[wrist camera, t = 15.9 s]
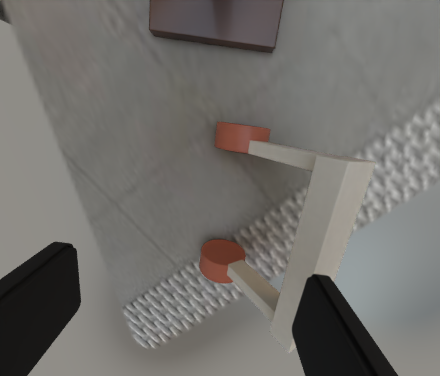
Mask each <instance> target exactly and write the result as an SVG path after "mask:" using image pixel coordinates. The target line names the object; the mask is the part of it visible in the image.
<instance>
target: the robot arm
mask: <svg viewBox="0 0 440 376" xmlns="http://www.w3.org/2000/svg"><path fill="white" fill-rule="evenodd" d="M80 303H81V296H80V284H79V272H78V260H77V251H76V249H75V248H73V245H72V244H69V243H62V242H53V243H51V244H50V245H48V246H47V247H46V248H44V249H43V250H41V251H40V252H38V253H37V254H36V255H34V256H33V257H31V258H30V259H29V260H27V261H26V262H24V263H23V264H21V266H19V267H17V268H16V269H14V270H13V271H12V272H10V273H9V274H7V275H6V276H4V277H3V278H2V279H1V280H0V376H27V375H28V374H29V373H30V371H31V370H32V369H33V367H34V366H35V365H36V364H37V362H38V361H39V360H40V359H41V357H42V356H43V354H44V353H45V352H46V351H47V349H48V348H49V347H50V346H51V344H52V343H53V342H54V340H55V339H56V338H57V337H58V335H59V334H60V333H61V331H62V330H63V329H64V327H65V326H66V325H67V323H68V322H69V321H70V320H71V318H72V317H73V316H74V315H75V313H76V312H77V310H78V308H79V306H80ZM292 335H293V339H294V342H295V345H296V348H297V351H298V354H299V357H300V360H301V363H302V367H303V370H304V373H305V376H398V375H397V373H396V372H395V371H394V369H393V368H392V366H391V365H390V363H389V362H388V360H387V359H386V358H385V356H384V354H383V353H382V352H381V350H380V349H379V347H378V346H377V344H376V343H375V341H374V340H373V339H372V337H371V336H370V334H369V333H368V331H367V330H366V329H365V327H364V326H363V324H362V323H361V321H360V320H359V318H358V317H357V315H356V314H355V312H354V311H353V310H352V308H351V307H350V305H349V304H348V302H347V301H346V299H345V298H344V297H343V295H342V294H341V292H340V291H339V289H338V288H337V286H336V285H335V284H334V282H333V281H332V279H331V278H330V277H329V276H328V275H320V274H313V275H312V276H311V277H308V278H307V280H306V283H305V287H304V290H303V293H302V296H301V299H300V302H299V305H298V309H297V312H296V315H295V318H294V321H293V324H292Z"/></svg>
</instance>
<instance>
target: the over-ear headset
mask: <svg viewBox="0 0 440 376" xmlns="http://www.w3.org/2000/svg"><path fill="white" fill-rule="evenodd" d="M270 131H271V130H270V129H268V128H261V127H255V126H248V125H241V124H233V123H226V122H217V129H216V137H215V145H214V146H215V147H217V148H220V149H224V150H228V151H234V152H240V153H248V154H252V155H255V156H259V157H262V158H266V159H269V160H273V161H277V162H280V163H284V164H287V165H291V166H294V167H298V168H302V169H305V170H309V171H312V176H311V179H310V183H309V187H308V190H307V194H306V198H305V202H304V205H303V209H302V213H301V217H300V220H299V224H298V228H297V231H296V235H295V239H294V243H293V246H292V250H291V254H290V257H289V261H288V265H287V269H286V272H285V277H284V280H283V284H282V287H281V291H280V293H279V292H278V291H277V290H276V289H275V288H274V287H272V285H270V284H269V283H268V282H267V281H266V280H265V279H264V278H263V277H261V276H260V275H259V274H258V273H257V272H256V271H255V270H254V269H252V268H251V267H250V266H249V265H248V264H247V263H246V262H245V257H246V255H245V251H244V250H243V248H242V247H240V246H239V245H238V244H236V243H234V242H231V241H228V240H222V239H216V240H211V241H208V242H206V243H205V244H204V245H203V246H202V249H201V257H200V265H199V267H200V271H201V272H202V274H203V275H204V276H205V277H206V278H208V279H209V280H211V281H214V282H217V283H232V282H234V283H235V284H236V285H237V286H238V287H239V288H240V289H241V290H242V291H243V292H244V293H245V295H246V296H247V297H248V298H249V299H250V300H251V301H252V302H253V303H254V304H255V305H256V306H257V307H258V308H259V310H260V311H261V312H262V313H263V314H264V315H265V316H266V317H267V318H268V319H269V320H270V321H271V322H272V324H271V328H270V333H271V334H272V336H273V337H274V338H275V339H276V340H277V341H278V342H279V344H280V345H281V346H282V347H283V348H284V349H285V350H286V352H287V353H290V352H291V351H292V350H293V349H295V348H296V345H295V342H294V339H293V335H292V324H293V321H294V318H295V315H296V312H297V309H298V305H299V302H300V299H301V296H302V293H303V290H304V287H305V283H306V280H307V278H308V277H311V276H312V275H313V274H320V275H328V276H329V277H330V278H331V279H332V281H333V282H334V281H335V278H336V275H337V272H338V269H339V267H340V264H341V261H342V258H343V255H344V252H345V250H346V247H347V244H348V241H349V238H350V236H351V233H352V230H353V227H354V224H355V221H356V219H357V216H358V213H359V210H360V207H361V205H362V202H363V199H364V196H365V193H366V190H367V188H368V185H369V182H370V179H371V176H372V173H373V171H374V168H375V165H376V162H372V161H367V160H362V159H357V158H351V157H344V156H337V155H332V154H326V153H321V152H316V151H311V150H306V149H301V148H296V147H291V146H285V145H280V144H275V143H270V142H268V141H269V136H270Z"/></svg>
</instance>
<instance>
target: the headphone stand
mask: <svg viewBox="0 0 440 376" xmlns="http://www.w3.org/2000/svg"><path fill="white" fill-rule="evenodd" d="M283 1H284V0H150V18H149V30H150V31H151V33H152V34H153V35H154V36H159V37H166V38H173V39H180V40H186V41H193V42H200V43H207V44H214V45H221V46H228V47H235V48H242V49H249V50H256V51H263V52H270V53H272V51H273V50H274V48H275V45H276V39H277V34H278V29H279V23H280V18H281V12H282V7H283Z"/></svg>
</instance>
